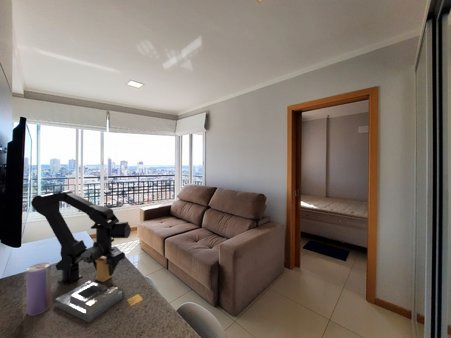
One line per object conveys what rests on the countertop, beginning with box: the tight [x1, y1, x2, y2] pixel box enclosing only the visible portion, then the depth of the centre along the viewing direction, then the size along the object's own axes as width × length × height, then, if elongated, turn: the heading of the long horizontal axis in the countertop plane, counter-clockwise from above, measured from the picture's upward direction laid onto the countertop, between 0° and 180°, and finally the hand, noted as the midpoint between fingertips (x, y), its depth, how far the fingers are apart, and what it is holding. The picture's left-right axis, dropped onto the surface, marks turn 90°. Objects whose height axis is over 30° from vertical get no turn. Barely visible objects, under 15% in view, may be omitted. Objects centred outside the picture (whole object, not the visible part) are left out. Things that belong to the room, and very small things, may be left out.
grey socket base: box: [54, 280, 123, 323], centre depth 70 cm, size 18×12×4 cm, turn 68°
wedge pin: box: [95, 256, 113, 283], centre depth 84 cm, size 5×5×9 cm
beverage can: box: [25, 262, 52, 317], centre depth 66 cm, size 6×6×15 cm
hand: (104, 273), depth 84 cm, fingers open, 8 cm apart
